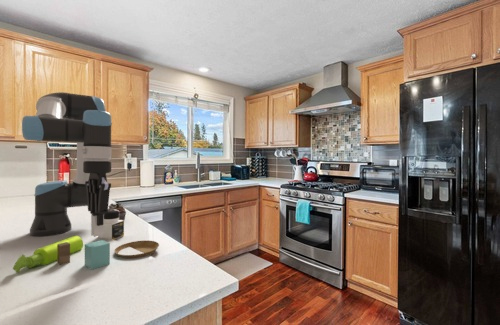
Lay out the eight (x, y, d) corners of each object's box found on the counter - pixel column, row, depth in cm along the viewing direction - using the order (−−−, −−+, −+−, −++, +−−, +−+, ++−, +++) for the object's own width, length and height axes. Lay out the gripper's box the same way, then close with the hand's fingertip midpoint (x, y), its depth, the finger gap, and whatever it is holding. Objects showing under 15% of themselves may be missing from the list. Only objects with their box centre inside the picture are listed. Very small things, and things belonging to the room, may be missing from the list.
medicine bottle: (112, 241, 102) (112, 212, 102) (97, 239, 103) (97, 211, 103) (124, 235, 109) (124, 209, 109) (110, 234, 110) (110, 208, 110)
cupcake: (129, 221, 134) (129, 203, 134) (111, 225, 126) (112, 205, 126) (120, 218, 139) (120, 201, 139) (102, 222, 131) (102, 203, 131)
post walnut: (57, 265, 78) (57, 244, 78) (67, 263, 80) (67, 241, 80) (60, 268, 76) (60, 245, 76) (70, 265, 79) (70, 243, 78)
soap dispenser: (87, 240, 89) (30, 263, 69) (77, 254, 90) (18, 281, 70) (76, 230, 90) (16, 250, 70) (66, 244, 91) (4, 268, 71)
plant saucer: (113, 266, 79) (113, 258, 79) (114, 250, 92) (114, 243, 92) (161, 257, 86) (161, 250, 86) (156, 244, 99) (156, 238, 99)
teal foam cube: (84, 265, 77) (84, 244, 76) (102, 259, 81) (102, 239, 81) (91, 269, 73) (91, 247, 73) (109, 263, 78) (109, 243, 78)
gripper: (75, 160, 78) (75, 233, 78) (93, 160, 69) (93, 242, 70) (100, 160, 84) (100, 228, 84) (120, 160, 75) (120, 236, 76)
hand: (97, 234), depth 77 cm, fingers closed
